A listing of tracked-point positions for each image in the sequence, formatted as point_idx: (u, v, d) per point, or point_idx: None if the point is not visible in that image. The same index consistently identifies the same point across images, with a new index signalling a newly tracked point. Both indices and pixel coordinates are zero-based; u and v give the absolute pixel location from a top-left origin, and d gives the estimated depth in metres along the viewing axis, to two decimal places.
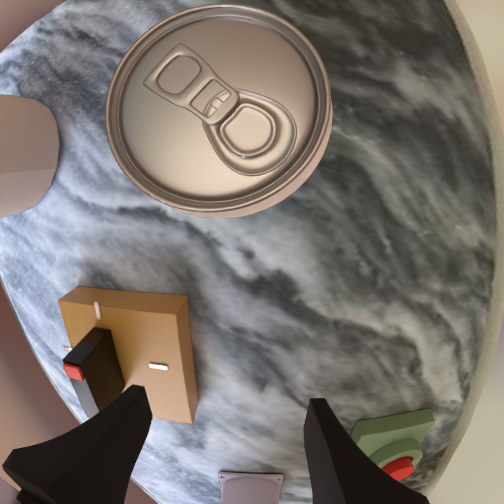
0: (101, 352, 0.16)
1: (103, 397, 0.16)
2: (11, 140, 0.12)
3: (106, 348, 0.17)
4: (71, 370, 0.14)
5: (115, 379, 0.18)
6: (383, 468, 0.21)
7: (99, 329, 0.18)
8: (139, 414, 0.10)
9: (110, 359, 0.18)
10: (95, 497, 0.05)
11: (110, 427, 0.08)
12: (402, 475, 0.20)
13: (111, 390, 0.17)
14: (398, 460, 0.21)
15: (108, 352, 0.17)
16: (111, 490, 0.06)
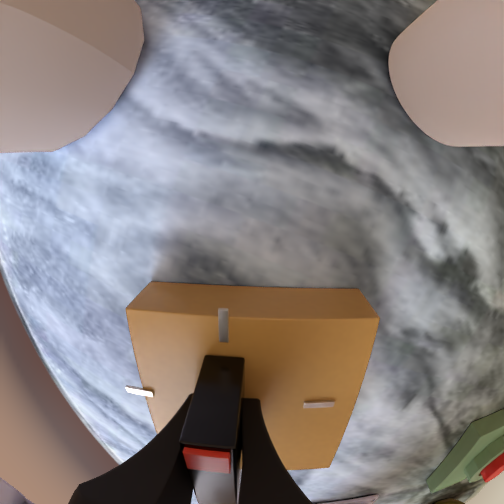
0: (241, 404, 0.09)
1: None
2: None
3: None
4: (207, 460, 0.06)
5: None
6: (486, 467, 0.14)
7: (221, 359, 0.10)
8: None
9: None
10: None
11: None
12: (500, 471, 0.13)
13: None
14: (500, 456, 0.13)
15: None
16: None
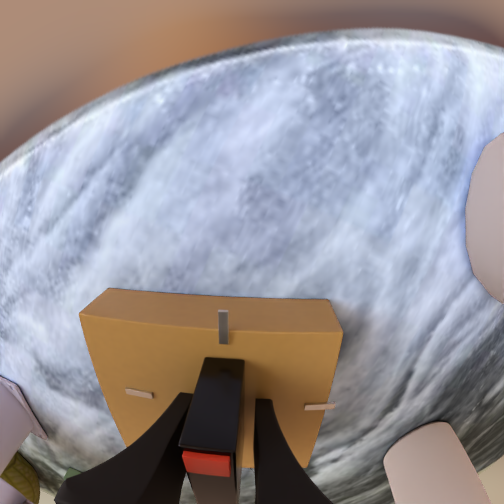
0: (241, 407, 0.09)
1: (239, 479, 0.08)
2: None
3: (243, 396, 0.10)
4: (206, 464, 0.06)
5: (242, 439, 0.10)
6: None
7: (221, 361, 0.10)
8: None
9: None
10: None
11: (170, 441, 0.08)
12: None
13: (241, 460, 0.09)
14: None
15: (243, 401, 0.10)
16: None
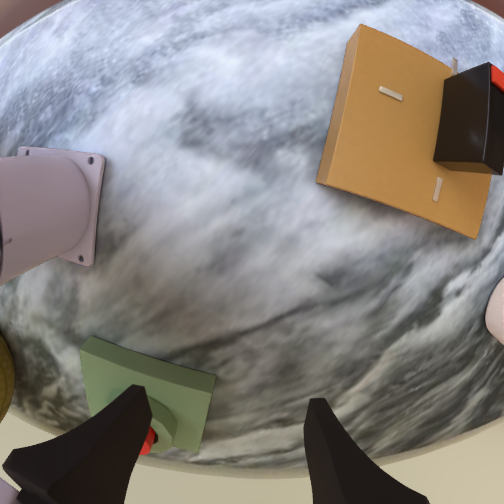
0: None
1: None
2: None
3: None
4: (502, 76, 0.07)
5: None
6: None
7: None
8: (139, 414, 0.10)
9: None
10: (95, 497, 0.05)
11: (111, 427, 0.08)
12: None
13: None
14: (153, 435, 0.18)
15: None
16: (111, 490, 0.06)
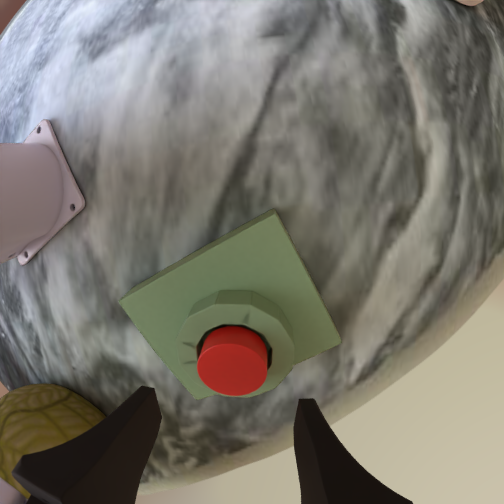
0: None
1: None
2: None
3: None
4: None
5: None
6: (222, 330, 0.14)
7: None
8: (149, 416, 0.10)
9: None
10: (107, 502, 0.05)
11: (122, 430, 0.08)
12: (232, 380, 0.14)
13: None
14: (258, 339, 0.14)
15: None
16: (122, 494, 0.06)
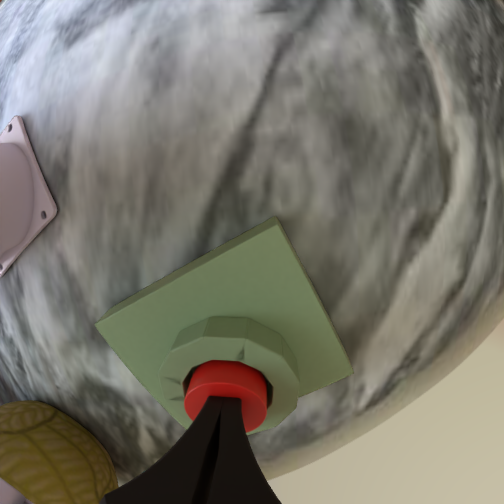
0: None
1: None
2: None
3: None
4: None
5: None
6: (213, 363, 0.12)
7: None
8: None
9: None
10: None
11: (207, 446, 0.07)
12: None
13: None
14: (255, 374, 0.12)
15: None
16: None
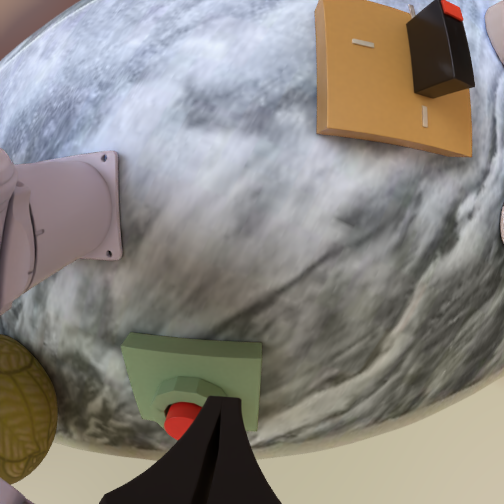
0: None
1: None
2: None
3: None
4: (452, 6, 0.07)
5: None
6: (191, 405, 0.19)
7: None
8: None
9: None
10: None
11: (207, 447, 0.07)
12: None
13: None
14: None
15: None
16: None
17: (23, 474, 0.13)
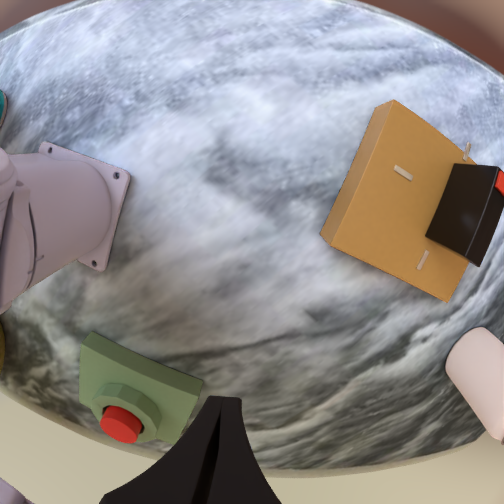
0: None
1: None
2: None
3: None
4: None
5: None
6: (128, 413, 0.20)
7: None
8: None
9: None
10: None
11: (207, 447, 0.07)
12: (115, 432, 0.19)
13: None
14: (140, 427, 0.20)
15: None
16: None
17: None
